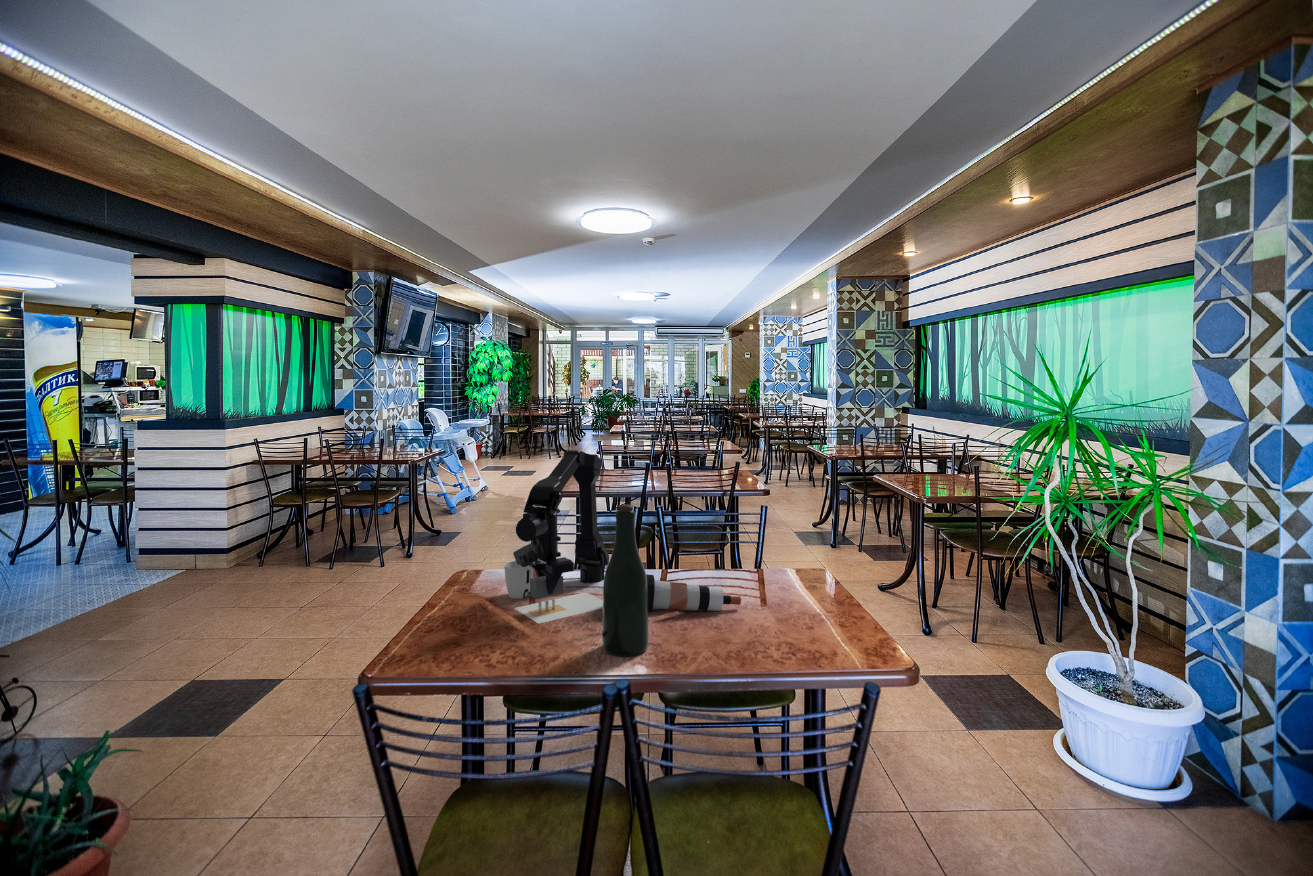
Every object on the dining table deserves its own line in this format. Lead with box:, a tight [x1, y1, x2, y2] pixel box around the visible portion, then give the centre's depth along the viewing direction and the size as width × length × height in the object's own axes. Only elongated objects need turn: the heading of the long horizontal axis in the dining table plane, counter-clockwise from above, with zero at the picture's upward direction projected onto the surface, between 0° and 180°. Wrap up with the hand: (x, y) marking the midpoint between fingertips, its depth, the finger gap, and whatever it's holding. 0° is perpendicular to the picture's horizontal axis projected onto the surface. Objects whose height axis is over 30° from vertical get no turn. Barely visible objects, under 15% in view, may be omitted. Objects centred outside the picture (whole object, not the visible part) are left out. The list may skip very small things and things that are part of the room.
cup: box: [503, 560, 535, 600], centre depth 182 cm, size 8×8×10 cm
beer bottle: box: [601, 503, 649, 657], centre depth 147 cm, size 10×10×33 cm
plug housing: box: [529, 575, 564, 600], centre depth 169 cm, size 8×3×4 cm, turn 127°
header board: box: [513, 592, 603, 625], centre depth 173 cm, size 22×14×4 cm, turn 127°
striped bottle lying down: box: [646, 573, 742, 613], centre depth 173 cm, size 10×34×10 cm, turn 96°
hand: (546, 592), depth 169 cm, fingers closed on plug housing, 3 cm apart
